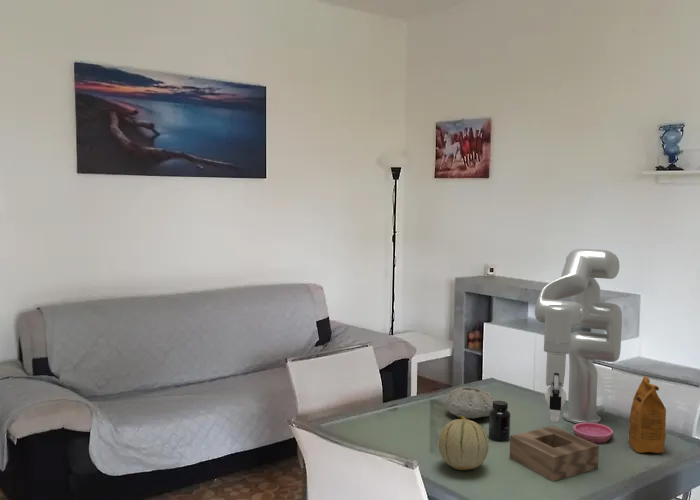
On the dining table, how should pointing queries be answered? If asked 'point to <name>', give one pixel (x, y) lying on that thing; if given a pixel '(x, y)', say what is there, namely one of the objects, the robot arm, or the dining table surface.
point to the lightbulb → (553, 413)
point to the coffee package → (647, 420)
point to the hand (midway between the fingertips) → (555, 405)
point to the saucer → (593, 432)
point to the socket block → (554, 452)
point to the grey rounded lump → (469, 402)
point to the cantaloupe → (463, 444)
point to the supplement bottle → (499, 421)
